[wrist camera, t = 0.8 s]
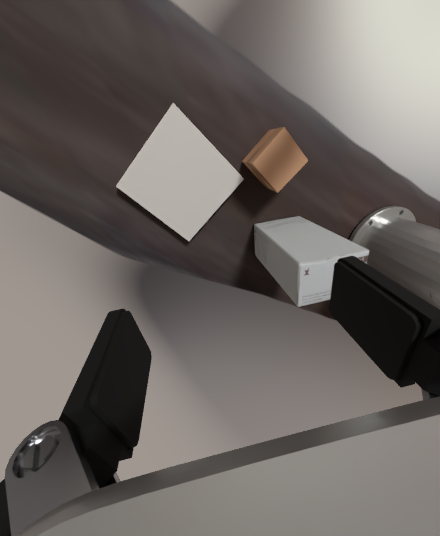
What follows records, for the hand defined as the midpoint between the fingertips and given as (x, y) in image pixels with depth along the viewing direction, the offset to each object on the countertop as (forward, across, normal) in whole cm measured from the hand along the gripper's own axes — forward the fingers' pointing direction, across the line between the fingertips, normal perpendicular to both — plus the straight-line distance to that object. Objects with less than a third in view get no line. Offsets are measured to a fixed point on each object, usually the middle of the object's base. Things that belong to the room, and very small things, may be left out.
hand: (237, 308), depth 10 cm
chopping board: (+24, +2, -3) cm, 25 cm away
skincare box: (+25, -11, +8) cm, 29 cm away
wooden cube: (+25, -10, -3) cm, 27 cm away
